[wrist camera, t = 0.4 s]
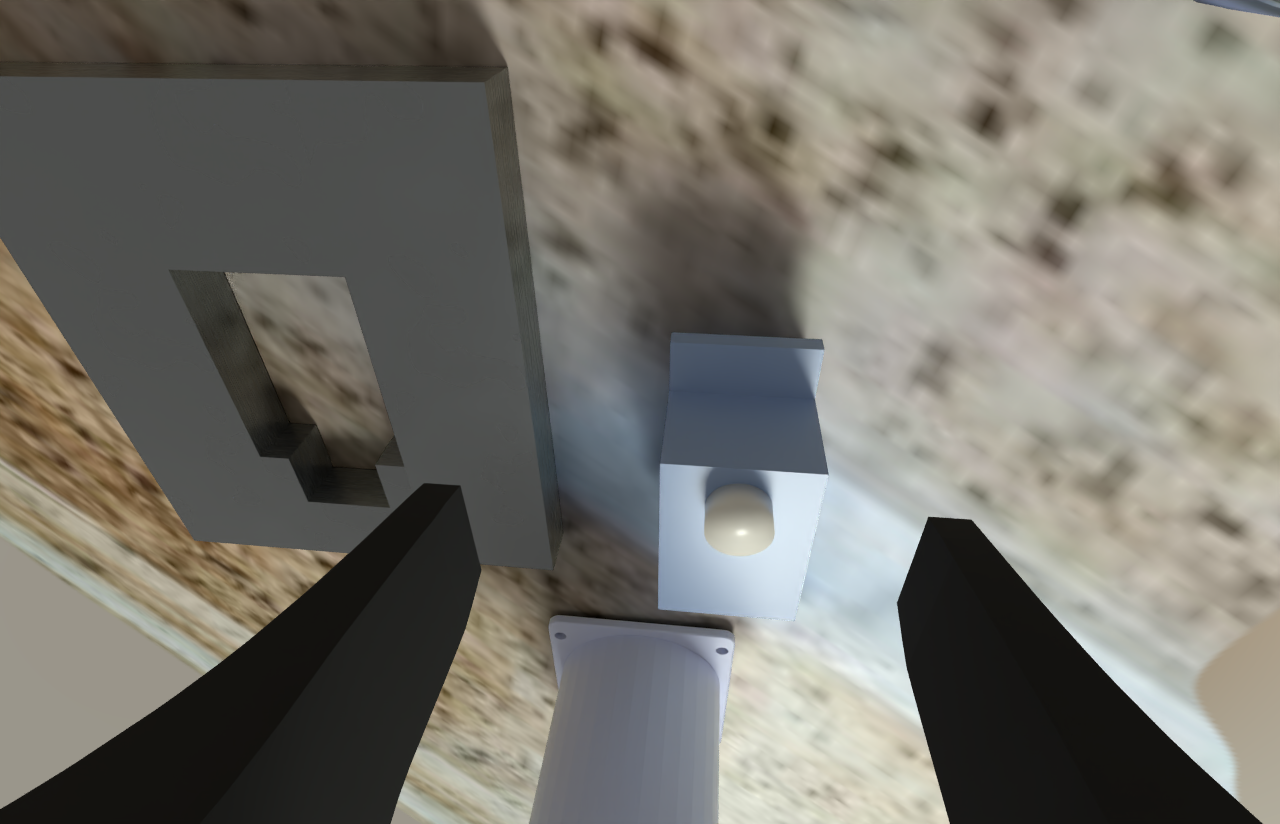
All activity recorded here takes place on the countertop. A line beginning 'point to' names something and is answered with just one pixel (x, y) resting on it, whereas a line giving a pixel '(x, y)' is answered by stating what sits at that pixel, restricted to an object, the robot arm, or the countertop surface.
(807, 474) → the servo
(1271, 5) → the small box
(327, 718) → the robot arm
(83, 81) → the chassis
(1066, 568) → the countertop surface
